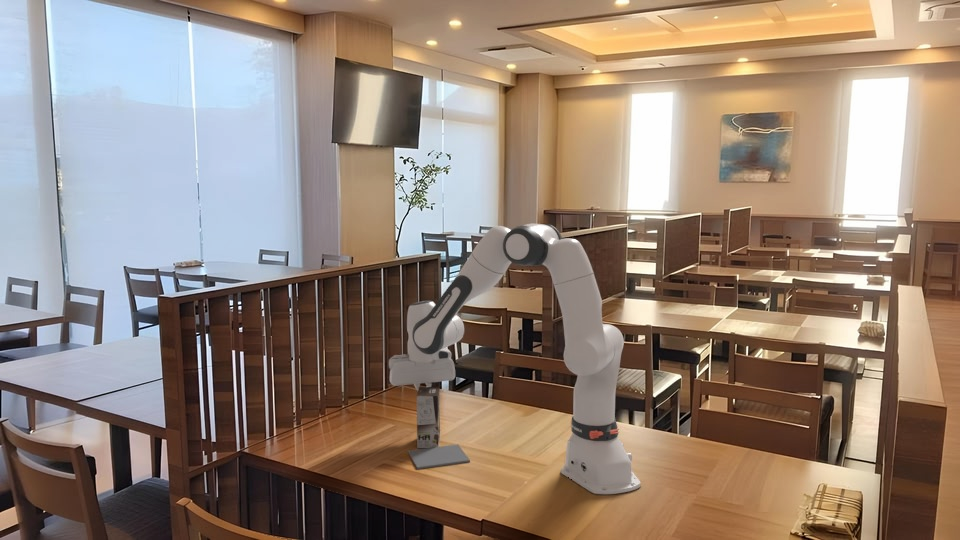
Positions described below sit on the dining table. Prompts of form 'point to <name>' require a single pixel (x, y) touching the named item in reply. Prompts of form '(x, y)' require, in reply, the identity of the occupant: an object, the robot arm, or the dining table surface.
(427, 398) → the coffee box
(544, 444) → the dining table surface
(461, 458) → the rubber mat
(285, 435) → the dining table surface
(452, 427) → the dining table surface
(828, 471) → the dining table surface
